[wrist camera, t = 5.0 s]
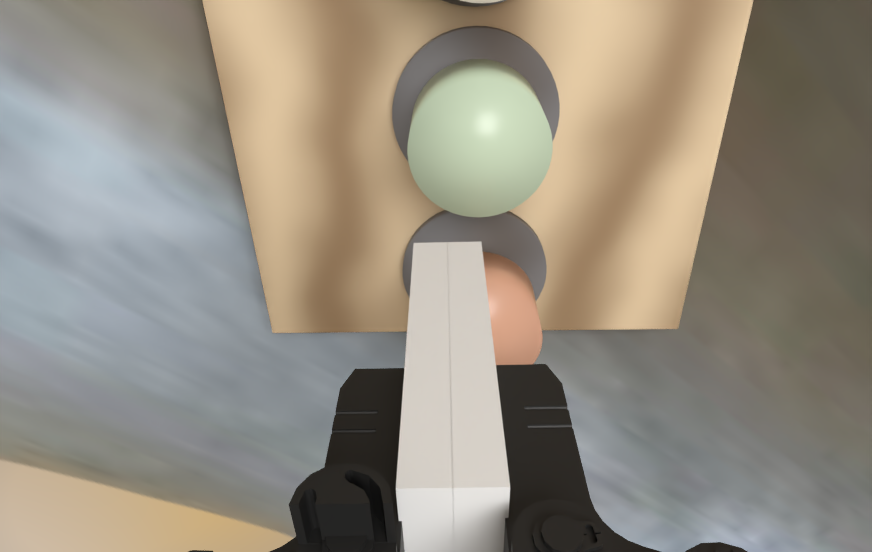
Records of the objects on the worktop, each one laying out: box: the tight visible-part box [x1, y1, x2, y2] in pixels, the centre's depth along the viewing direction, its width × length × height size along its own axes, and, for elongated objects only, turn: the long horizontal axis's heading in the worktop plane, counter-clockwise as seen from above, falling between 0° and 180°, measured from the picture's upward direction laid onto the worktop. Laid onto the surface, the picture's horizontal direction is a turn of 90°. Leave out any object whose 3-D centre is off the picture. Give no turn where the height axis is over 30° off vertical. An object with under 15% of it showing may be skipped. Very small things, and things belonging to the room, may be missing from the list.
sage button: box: [407, 59, 553, 217], centre depth 24 cm, size 5×5×3 cm
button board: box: [202, 0, 753, 333], centre depth 27 cm, size 22×24×3 cm
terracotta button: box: [483, 252, 542, 365], centre depth 27 cm, size 5×5×3 cm
